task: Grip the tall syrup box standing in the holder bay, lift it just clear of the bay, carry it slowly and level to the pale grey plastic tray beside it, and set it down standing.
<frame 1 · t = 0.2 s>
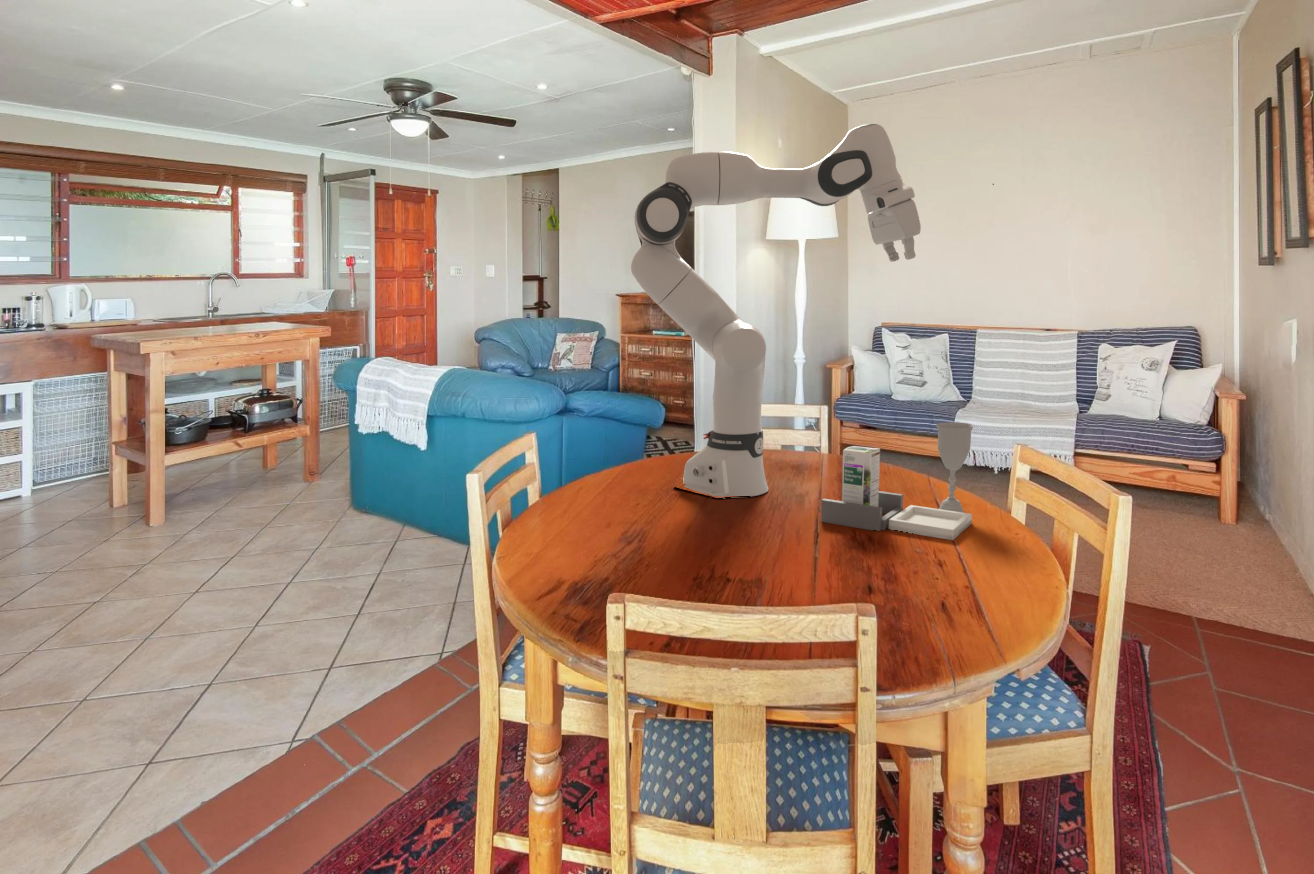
hand: (902, 259, 170), 52 cm above the table, tool tilted 20°, fingers open, 8 cm apart
holder bay: (859, 518, 154), on the table
tray: (930, 526, 148), on the table
chalice: (950, 511, 158), on the table
syrup box: (859, 519, 154), resting in holder bay
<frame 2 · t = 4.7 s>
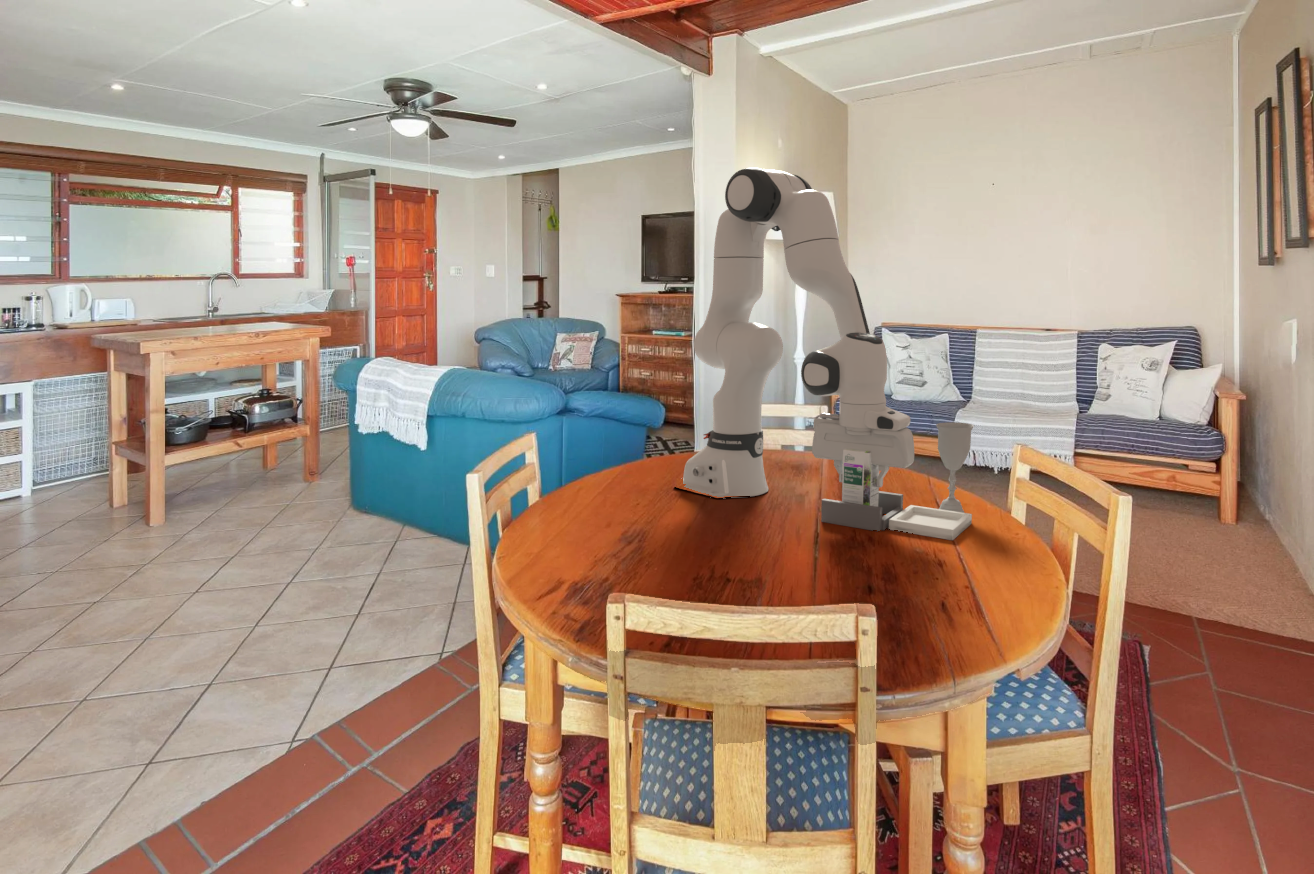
hand: (860, 484, 153), 7 cm above the table, tool pointing down, fingers closed on syrup box, 6 cm apart
syrup box: (859, 519, 154), resting in holder bay, touching gripper
everything else where it was.
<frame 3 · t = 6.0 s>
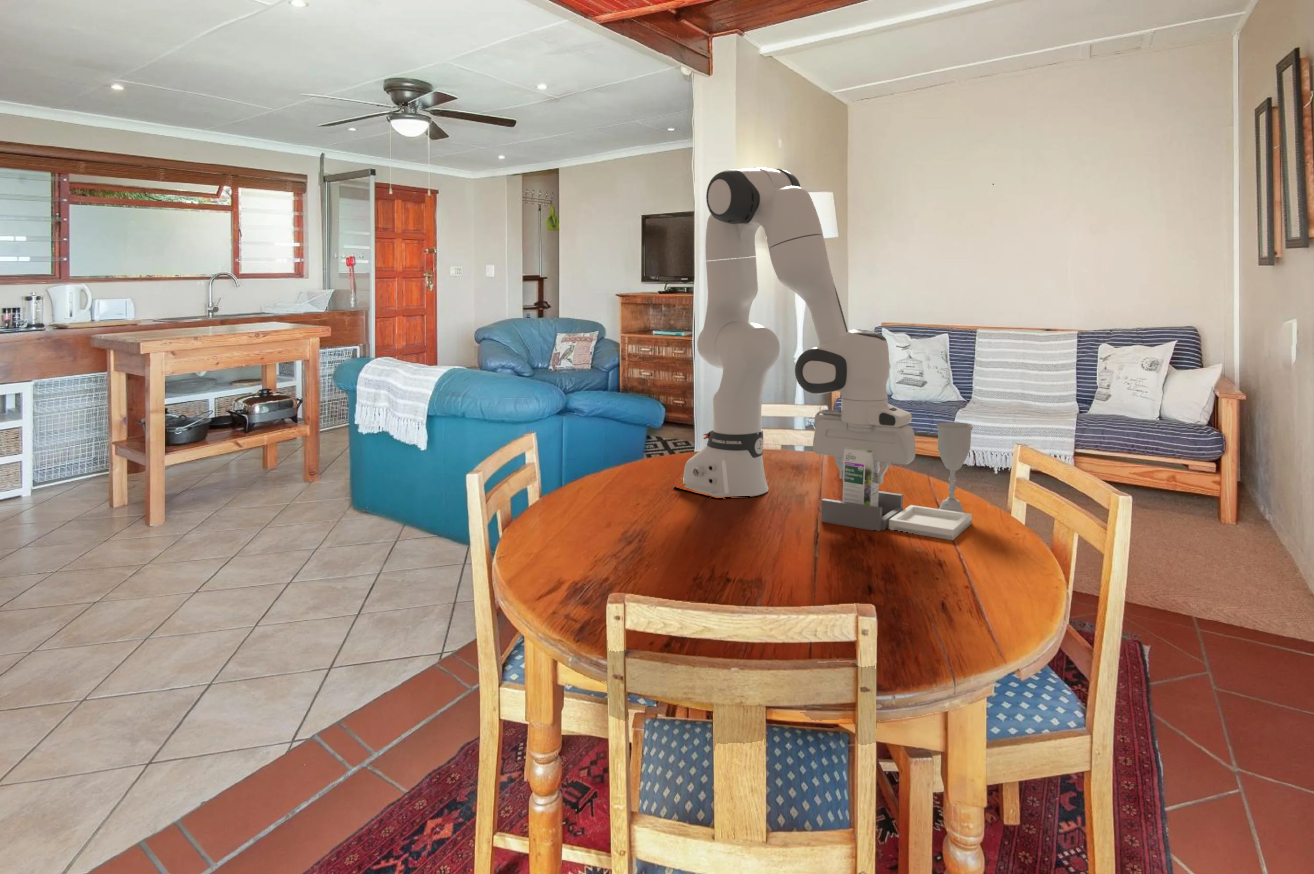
hand: (861, 480, 153), 8 cm above the table, tool pointing down, fingers closed on syrup box, 6 cm apart
syrup box: (859, 516, 155), resting in holder bay, touching gripper
everything else where it was.
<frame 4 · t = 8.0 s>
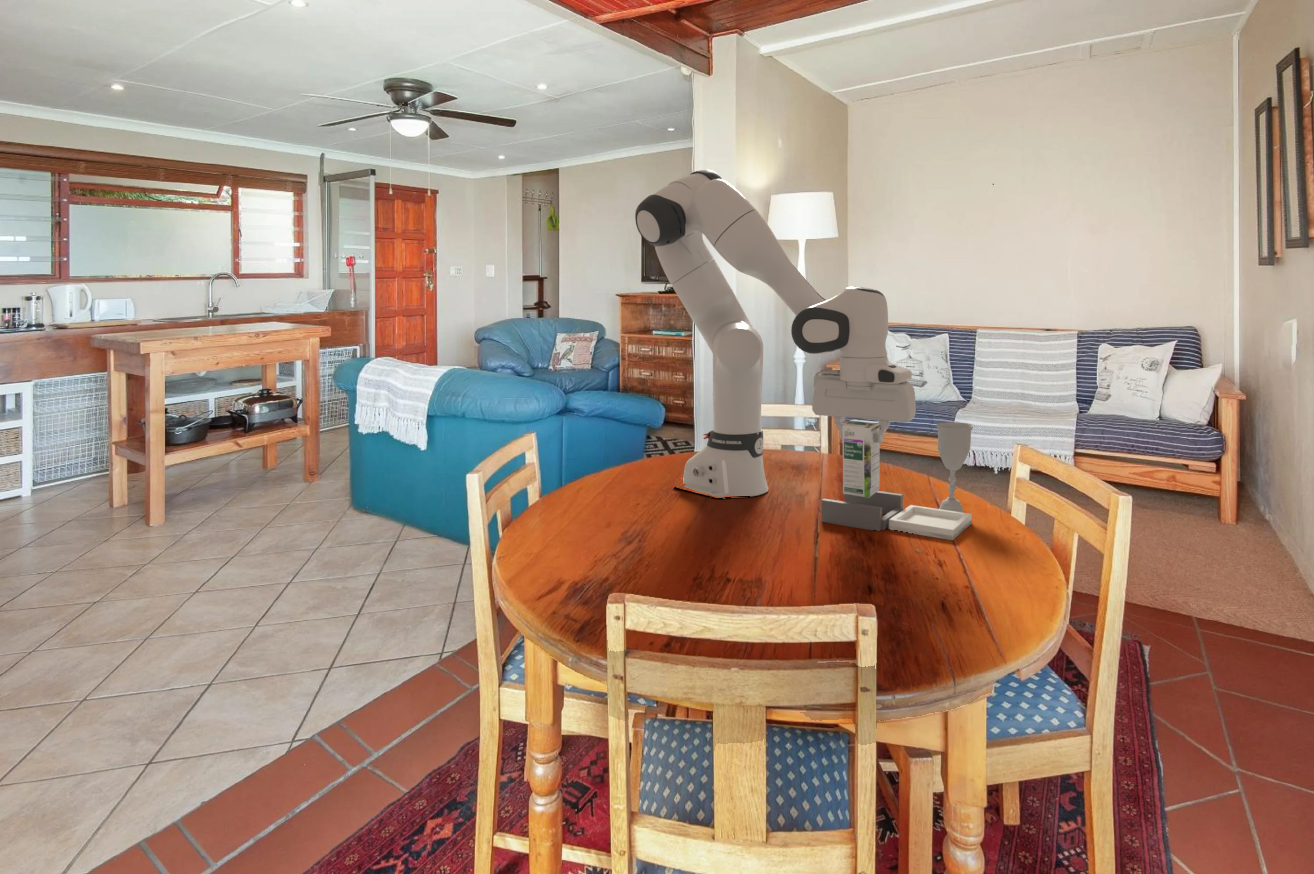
hand: (861, 440, 151), 16 cm above the table, tool pointing down, fingers closed on syrup box, 6 cm apart
syrup box: (861, 493, 154), point 5 cm above the table, touching gripper
everything else where it was.
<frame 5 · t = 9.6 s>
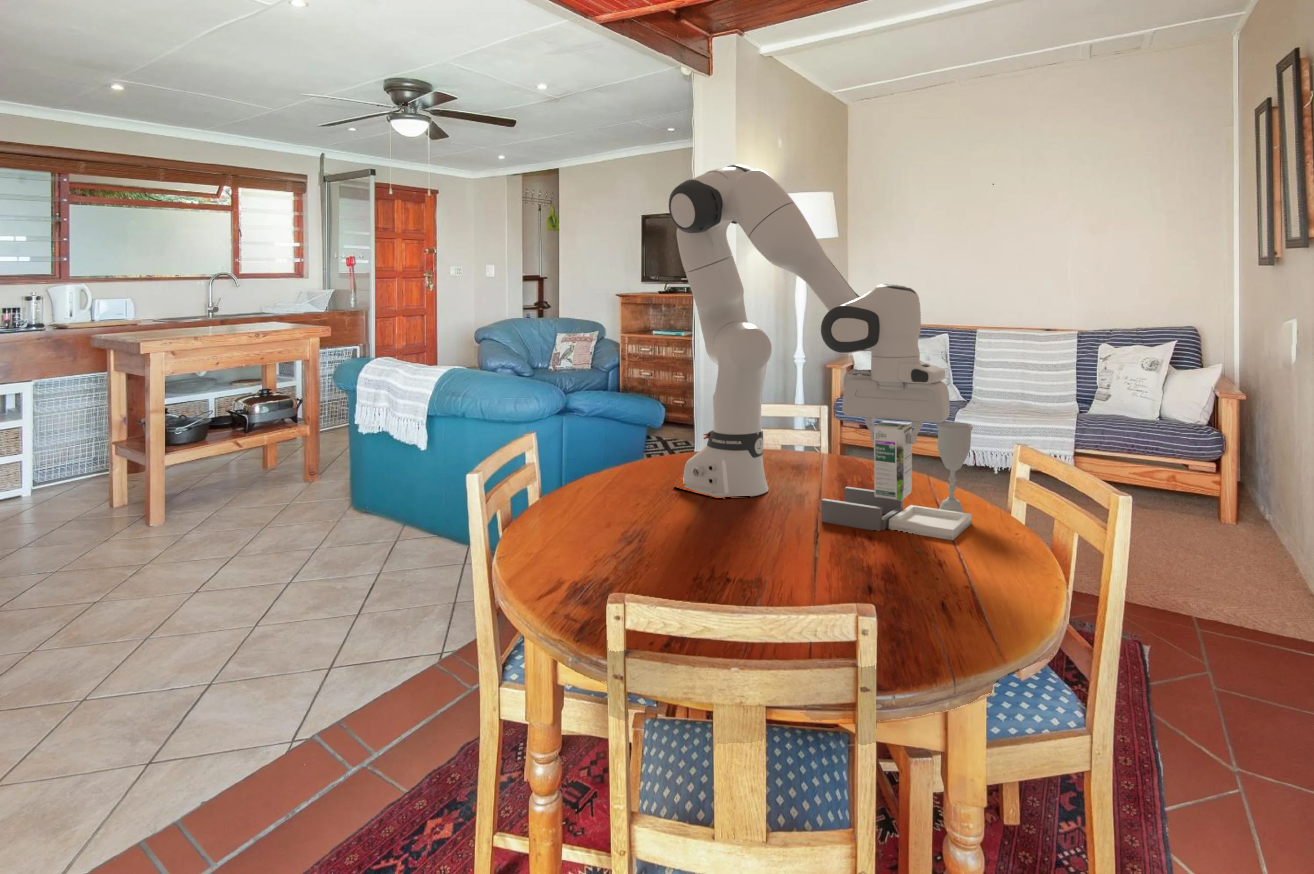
hand: (893, 441, 148), 16 cm above the table, tool pointing down, fingers closed on syrup box, 6 cm apart
syrup box: (893, 495, 151), point 5 cm above the table, touching gripper
everything else where it was.
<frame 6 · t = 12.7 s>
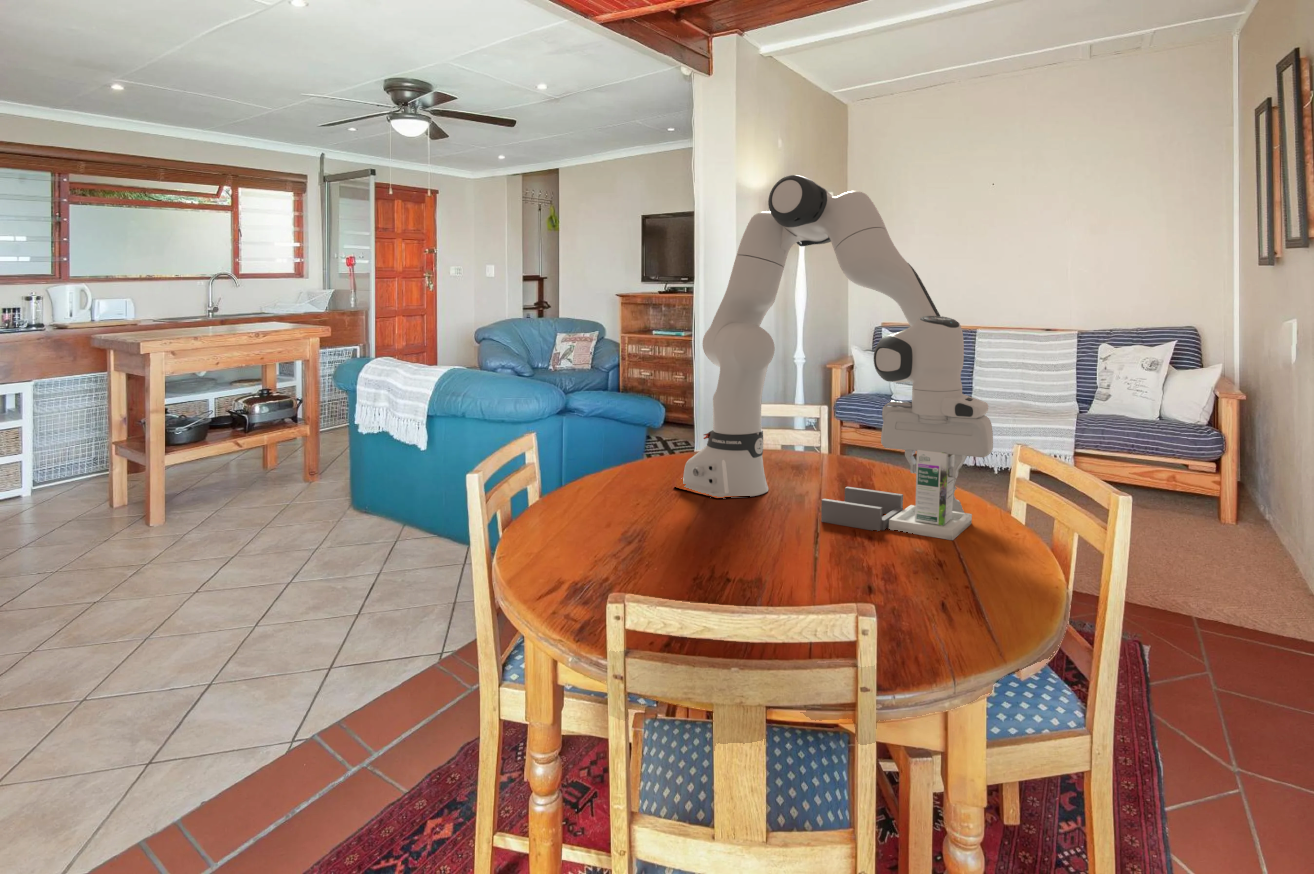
hand: (933, 474, 146), 10 cm above the table, tool pointing down, fingers closed on syrup box, 6 cm apart
syrup box: (933, 521, 149), point 1 cm above the table, touching gripper, tray
everything else where it was.
when the fingers open (9 cm above the table, at t = 14.2 s): syrup box stays where it is, resting on tray.
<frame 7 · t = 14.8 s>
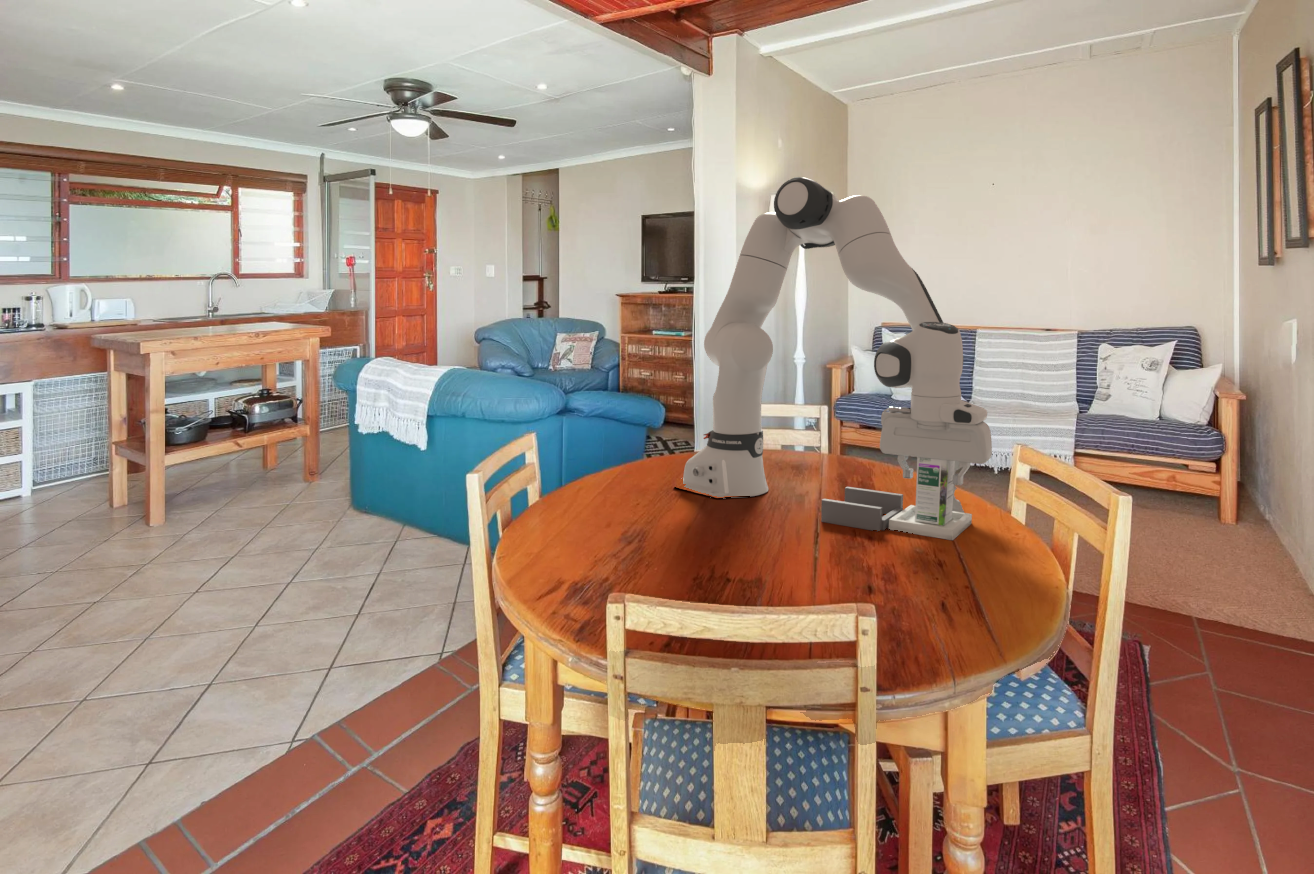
hand: (932, 480, 146), 9 cm above the table, tool pointing down, fingers open, 8 cm apart
syrup box: (933, 521, 149), point 1 cm above the table, touching tray
everything else where it was.
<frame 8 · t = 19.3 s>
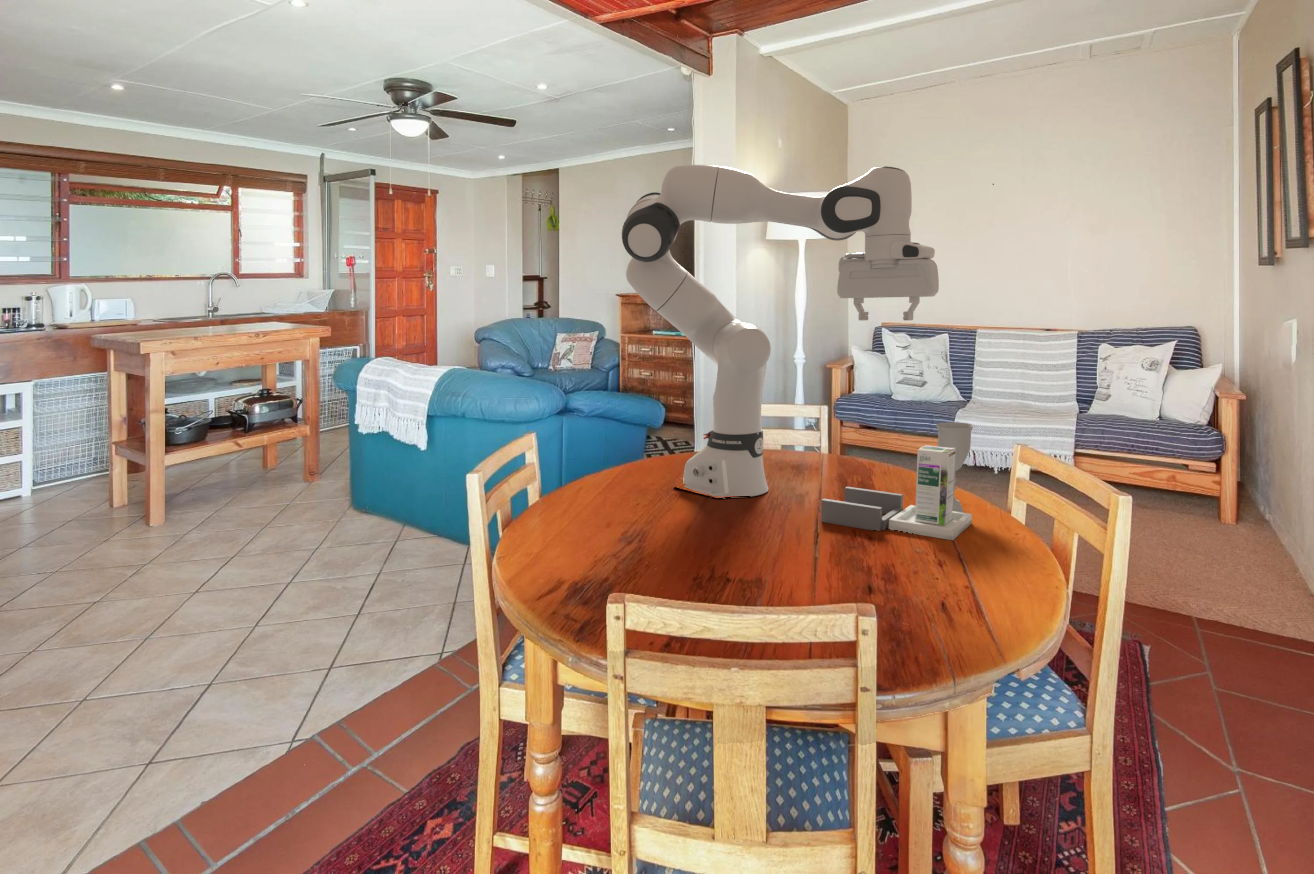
hand: (885, 320, 157), 39 cm above the table, tool pointing down, fingers open, 8 cm apart
nothing on the table moved.
at the end: syrup box inside the target area on the tray (1.6 cm from its centre), point 0.6 cm above the tray's base; syrup box tilted 0°; the gripper is holding nothing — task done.
